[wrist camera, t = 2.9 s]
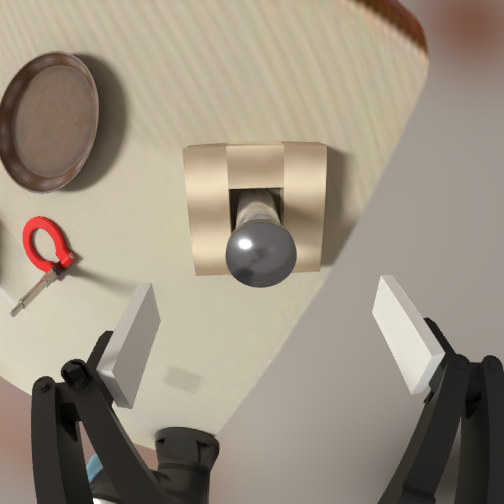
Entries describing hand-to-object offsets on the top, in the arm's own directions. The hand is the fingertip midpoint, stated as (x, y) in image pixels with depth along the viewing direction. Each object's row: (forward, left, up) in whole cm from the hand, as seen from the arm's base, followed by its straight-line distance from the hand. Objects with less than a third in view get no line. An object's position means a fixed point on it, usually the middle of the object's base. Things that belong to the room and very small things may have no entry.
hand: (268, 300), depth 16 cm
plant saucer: (+13, +25, -19) cm, 34 cm away
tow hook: (-4, +30, -19) cm, 36 cm away
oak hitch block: (0, 0, -19) cm, 19 cm away
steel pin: (0, 0, -19) cm, 19 cm away
